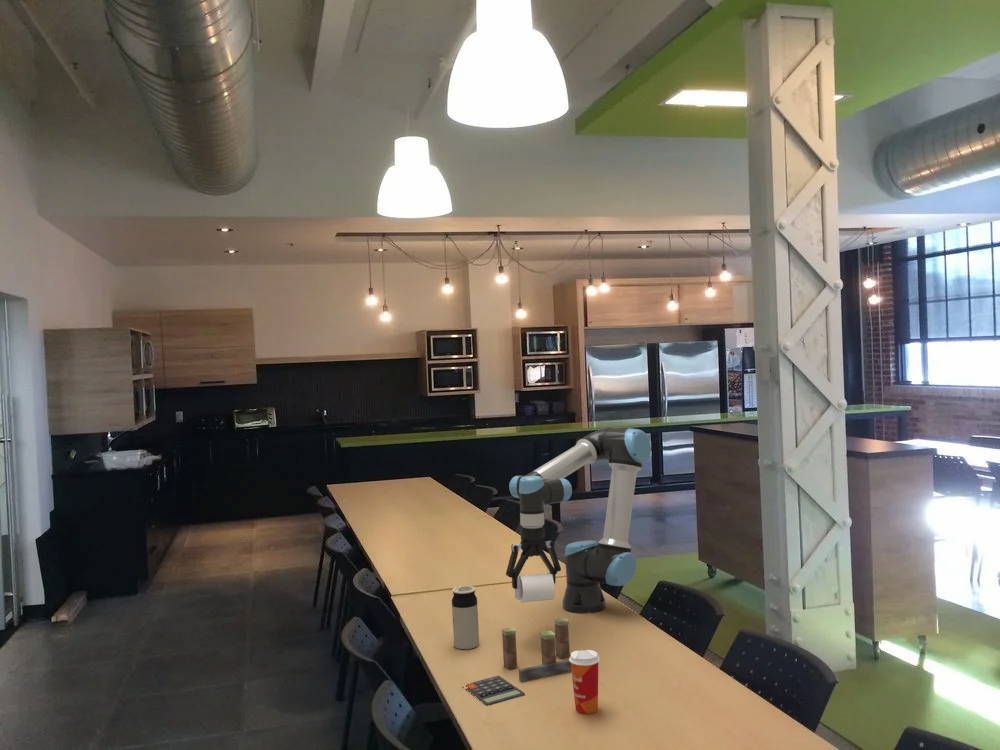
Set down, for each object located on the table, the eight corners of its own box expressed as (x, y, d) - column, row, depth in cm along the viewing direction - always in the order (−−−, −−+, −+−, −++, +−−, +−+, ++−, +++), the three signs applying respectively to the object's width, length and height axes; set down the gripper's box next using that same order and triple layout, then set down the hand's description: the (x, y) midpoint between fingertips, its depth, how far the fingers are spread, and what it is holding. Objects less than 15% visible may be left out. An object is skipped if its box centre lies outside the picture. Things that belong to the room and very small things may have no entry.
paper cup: (569, 704, 205) (566, 650, 205) (598, 701, 206) (595, 647, 205) (574, 717, 197) (571, 661, 197) (605, 714, 198) (602, 658, 197)
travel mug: (482, 642, 253) (480, 585, 253) (473, 651, 246) (471, 593, 245) (459, 640, 256) (456, 584, 256) (450, 649, 248) (447, 591, 248)
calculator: (498, 674, 225) (525, 692, 212) (498, 678, 225) (525, 696, 212) (461, 684, 219) (486, 703, 206) (461, 688, 219) (486, 707, 206)
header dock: (565, 653, 240) (563, 617, 240) (585, 668, 228) (584, 630, 227) (503, 666, 232) (501, 628, 232) (520, 682, 220) (519, 642, 220)
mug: (555, 602, 244) (554, 576, 245) (523, 605, 243) (522, 579, 243) (545, 592, 256) (544, 567, 256) (515, 595, 254) (514, 570, 254)
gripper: (560, 520, 257) (562, 589, 257) (493, 527, 249) (495, 598, 249) (570, 524, 250) (572, 594, 250) (502, 531, 242) (504, 604, 242)
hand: (534, 596), depth 249 cm, fingers closed on mug, 10 cm apart
